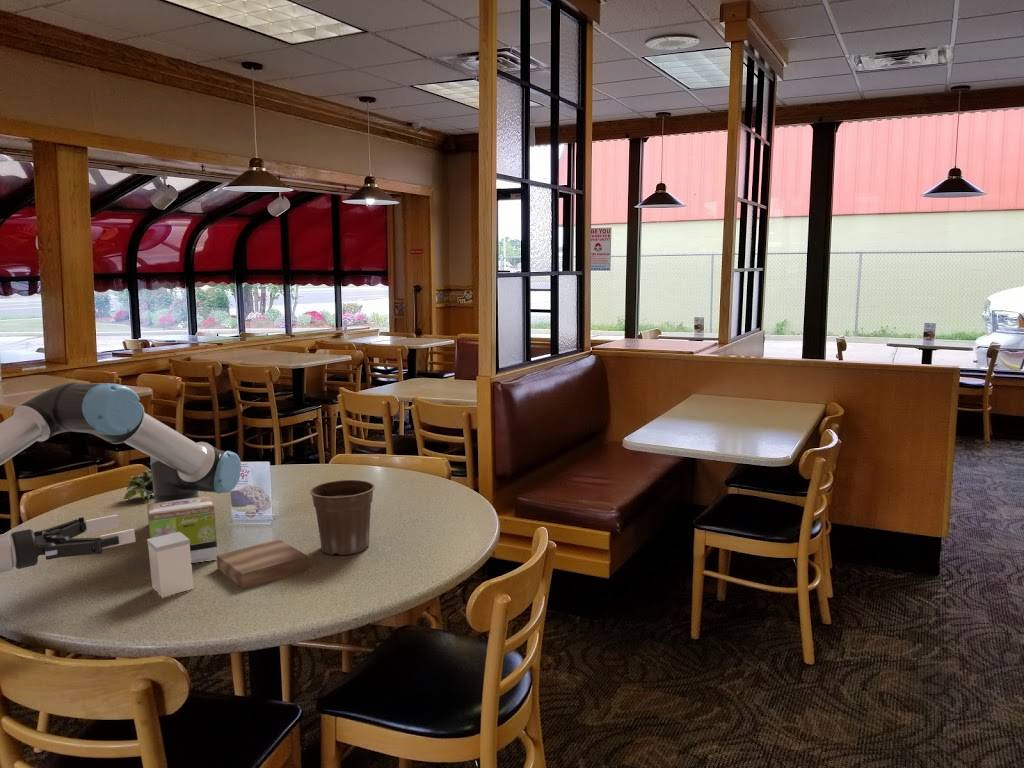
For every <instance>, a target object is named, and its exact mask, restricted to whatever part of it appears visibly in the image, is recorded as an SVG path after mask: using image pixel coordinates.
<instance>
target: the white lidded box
mask: <svg viewBox="0 0 1024 768" xmlns="http://www.w3.org/2000/svg"><path fill="white" fill-rule="evenodd" d="M146 545H147V548H148V557H149V567H150V568H149V569H150V578H151V586H152V587H153V588H154V589H155V590H156V591H157V592H158V594H159V595H160V596H161V597H162V596H167V595H170V594H175V593H178V592H182V591H186V590H190V589H193V588H194V589H195V587H194V577H193V566H192V565H193V564H191V553H190V539H188V538H187V537H186V536H185V535H183V534H182V533H181V532H176V533H172V534H167V535H163V536H159V537H154V538H150V537H149V538H147V539H146ZM158 594H157V595H158ZM159 595H158V596H159ZM160 596H159V597H160Z"/></svg>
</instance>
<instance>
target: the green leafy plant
mask: <svg viewBox="0 0 1024 768" xmlns="http://www.w3.org/2000/svg"><path fill="white" fill-rule="evenodd" d="M130 479H131V480H129V481H128V483H129V484H128V485H127V487H126V491H127V492H126V493H125V495H124V497H123V500H124V499H125V500H126V499H129V500H130V499H131V498H133V497H134V496H136V495H137V494H139V496H140V498H142V499H145V495H146V497H147V499H149V500H150V497H151V496H150V495H151V494H152V493H154V491H153V483H152V474H151V469H147V470H142V471H141V474H137V475H135V476H132V475H131V477H130Z"/></svg>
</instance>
